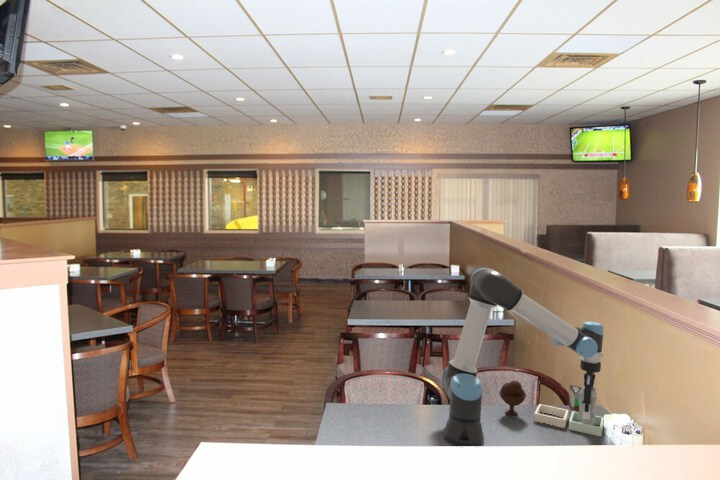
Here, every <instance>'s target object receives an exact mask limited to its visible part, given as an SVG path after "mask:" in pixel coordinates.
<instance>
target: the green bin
mask: <svg viewBox="0 0 720 480" xmlns="http://www.w3.org/2000/svg"><path fill="white" fill-rule="evenodd" d="M578 419H579V412H576V411H572V412H571V414H570V417H569V419H568V421H569V422H568V430H569V431H575V432H579V433H583V434H588V435H592V436H597V437H602V434H603V431H604V429H603V428H604V421H605V420H604V416H599V415H595V423H594V425H589V424H585V423H580V422H579V421H578ZM603 420H604V421H603Z"/></svg>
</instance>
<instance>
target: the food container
mask: <svg viewBox="0 0 720 480" xmlns="http://www.w3.org/2000/svg"><path fill="white" fill-rule="evenodd" d="M582 387H583V386H582ZM582 387H581V386H578V385H575V384H573V385H572V384H569V397H568V398H569V399H568V400H569V401H568V408H569V411H571V413H572V411H576V412H579V406H580V392H581V390H582Z"/></svg>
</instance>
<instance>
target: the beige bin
mask: <svg viewBox="0 0 720 480" xmlns="http://www.w3.org/2000/svg"><path fill="white" fill-rule="evenodd" d="M569 411H570V409H567V408H566V409H565V408H560V407H556V406H551V405H546V404H541V403H539V404H538V405H537V407H536V409H535V411H534V415H533V416H534V417H533V421H535V423H538V422H540V423H539V424H543V423H546V424H545V425H547V424H550V425H549V426H552V425H554V426H553V427H556V426H557V427H558V428H561V429H566V425H567V422H568V421H569ZM540 412H543V413H540ZM544 413H548V414H553V415H556V416H553V415H548V414H544ZM558 416H559V417H558Z"/></svg>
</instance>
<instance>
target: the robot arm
mask: <svg viewBox="0 0 720 480" xmlns="http://www.w3.org/2000/svg"><path fill="white" fill-rule="evenodd" d="M469 285H470V290H469V293H468V297H467V298H468V300H469V301H470V302H469V303H470V304H469V307H468V310H467V314H466V317H465V320H464V324H463V327H462V331H461V334H460V337H459V340H458V345H457V348H456V351H455V355H454V358H452V359H451V360H449V361H448V364H447V367H446V368H445V369H444V371H443V372H442V375H441V384H442V388H443V389H444V391H445V394H446V396H447V397H448V399H449V411H448V412H449V414H448V415H449V416H448V418H447V421H446V424H445V427H444V428H443V439H444V440H445V442H447V443H448V444H450V445H453V446H455V447H458V446H479V447H480V446H483V445H484V443H485V433H484V431H483V427H482V422H481V416H482V415H481V414H482V401H483V398H482V397H483V396H482V395H483V390H484V389H483V383H482V381H481V380H480V379H479V378H478V377H477V374H478V369H477V368H476V363H477V360H478V357H479V353H480V349H481V347H482V344H483V340H484V337H485V333H486V330H487V326H488V324H489V323H488V322H489V319H490V316H491V313H492V310H493V309H494V308H497V306H498V307H500V308H502V309H504V310H506V311H507V312H511V311H512V312H513V313H515V314H516V315H518V316H519V317H521V318H522V319H524V320H526V321H527V322H529V323H530V324H532V325H533V326H535V327H536V328H538V329H540V330H541V331H543V332H544V333H546V334H547V335H549V336H551V338H552V342H553V344H554V345H556V346H561V347H563V346H564V347H566V348H568V349H570V350H571V351H573V352H574V353H576V354H577V355H579V356H580V366H579V367H580V370H582V371H583V372H584V375H583V379H584V380H583V381H584V382H583V386H585V388H584V401H582V403H583V415H582V419H587V420H590V409H591V392H592V387H593V388H594V384H595V380H596V374H595V373H600V371H601V370H602V369H601V367H602V363H601V361H602V357H604V354H603V353H602V351H603V342H604V341H603V340H604V339H603V338H604V326H603V324H602V323H600V322H595V321H584V322H583V324H582V326H573V325H571V324H570V323H568V322H567V321H565V320H564V319H562V318H561V317H559V316H558V315H556V314H554V312H552V311H550V310H549V309H547V308H546V307H544V306H542V305H541V304H540V303H537V301H535V300H533V299H532V298H530V297H528V295H526V294H524V291H523V289H522V288H520V287H519V286H517V285H516V284H515V283H513V282H512V280H510V279H509V278H507V277H506V276H505V275H504V274H502V273H501V272H498V271H496V270H495V269H493V268H488V267H483V268H478V269H477V270H475V271H474V272H473V273H472V275H471V277H470V280H469Z"/></svg>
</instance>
